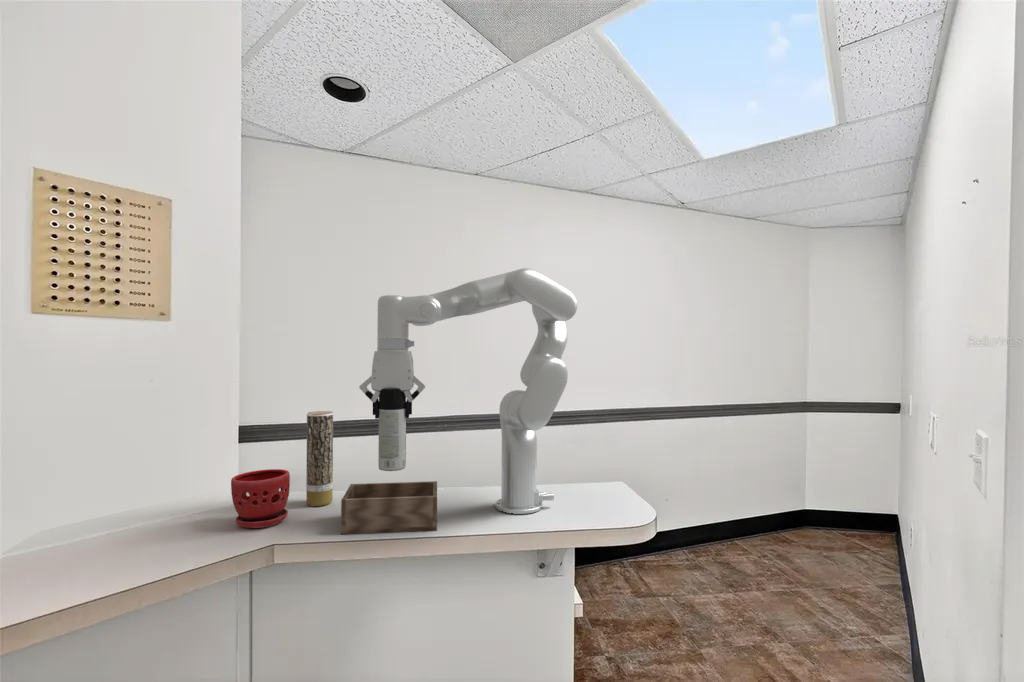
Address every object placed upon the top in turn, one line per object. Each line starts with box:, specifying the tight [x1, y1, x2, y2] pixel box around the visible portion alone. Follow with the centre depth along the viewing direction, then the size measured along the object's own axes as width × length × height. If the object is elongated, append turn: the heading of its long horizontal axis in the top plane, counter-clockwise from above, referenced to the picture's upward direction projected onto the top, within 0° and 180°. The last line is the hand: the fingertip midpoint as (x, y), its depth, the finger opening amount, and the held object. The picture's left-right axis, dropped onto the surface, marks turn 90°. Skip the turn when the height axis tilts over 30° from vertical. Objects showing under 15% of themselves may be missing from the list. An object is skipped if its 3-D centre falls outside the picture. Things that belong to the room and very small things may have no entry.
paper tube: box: [305, 410, 334, 507], centre depth 147 cm, size 7×7×25 cm
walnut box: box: [340, 480, 438, 536], centre depth 132 cm, size 22×14×8 cm, turn 98°
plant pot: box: [230, 468, 291, 529], centre depth 131 cm, size 13×13×12 cm
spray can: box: [378, 389, 407, 472], centre depth 132 cm, size 7×7×20 cm
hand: (392, 417), depth 132 cm, fingers closed on spray can, 6 cm apart
